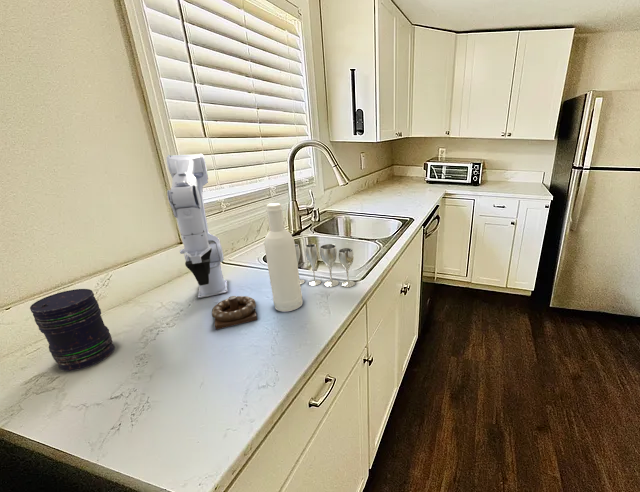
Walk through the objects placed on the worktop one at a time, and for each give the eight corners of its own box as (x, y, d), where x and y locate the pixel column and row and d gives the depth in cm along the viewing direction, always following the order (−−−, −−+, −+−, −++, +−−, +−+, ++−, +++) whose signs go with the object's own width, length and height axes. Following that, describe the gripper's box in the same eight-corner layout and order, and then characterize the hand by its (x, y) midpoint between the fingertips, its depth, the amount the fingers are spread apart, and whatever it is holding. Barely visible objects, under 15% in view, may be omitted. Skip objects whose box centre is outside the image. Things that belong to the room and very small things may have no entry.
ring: (213, 307, 92) (211, 300, 91) (254, 298, 96) (253, 291, 96) (212, 327, 83) (210, 319, 82) (258, 316, 87) (256, 308, 87)
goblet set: (357, 280, 110) (354, 243, 105) (353, 288, 104) (350, 249, 100) (278, 277, 113) (272, 241, 108) (270, 285, 107) (263, 247, 102)
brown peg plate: (216, 311, 92) (211, 294, 90) (254, 303, 96) (250, 286, 94) (215, 329, 84) (210, 310, 82) (257, 319, 88) (253, 301, 86)
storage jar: (103, 338, 81) (81, 285, 75) (124, 350, 76) (102, 294, 71) (49, 363, 73) (20, 304, 67) (69, 377, 68) (39, 316, 63)
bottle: (268, 309, 93) (250, 206, 82) (286, 296, 100) (270, 200, 89) (292, 314, 90) (276, 208, 80) (308, 300, 97) (295, 201, 87)
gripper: (178, 228, 90) (190, 272, 95) (171, 242, 78) (185, 292, 83) (207, 224, 93) (217, 268, 98) (205, 237, 81) (216, 286, 86)
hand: (205, 279), depth 90 cm, fingers open, 7 cm apart
